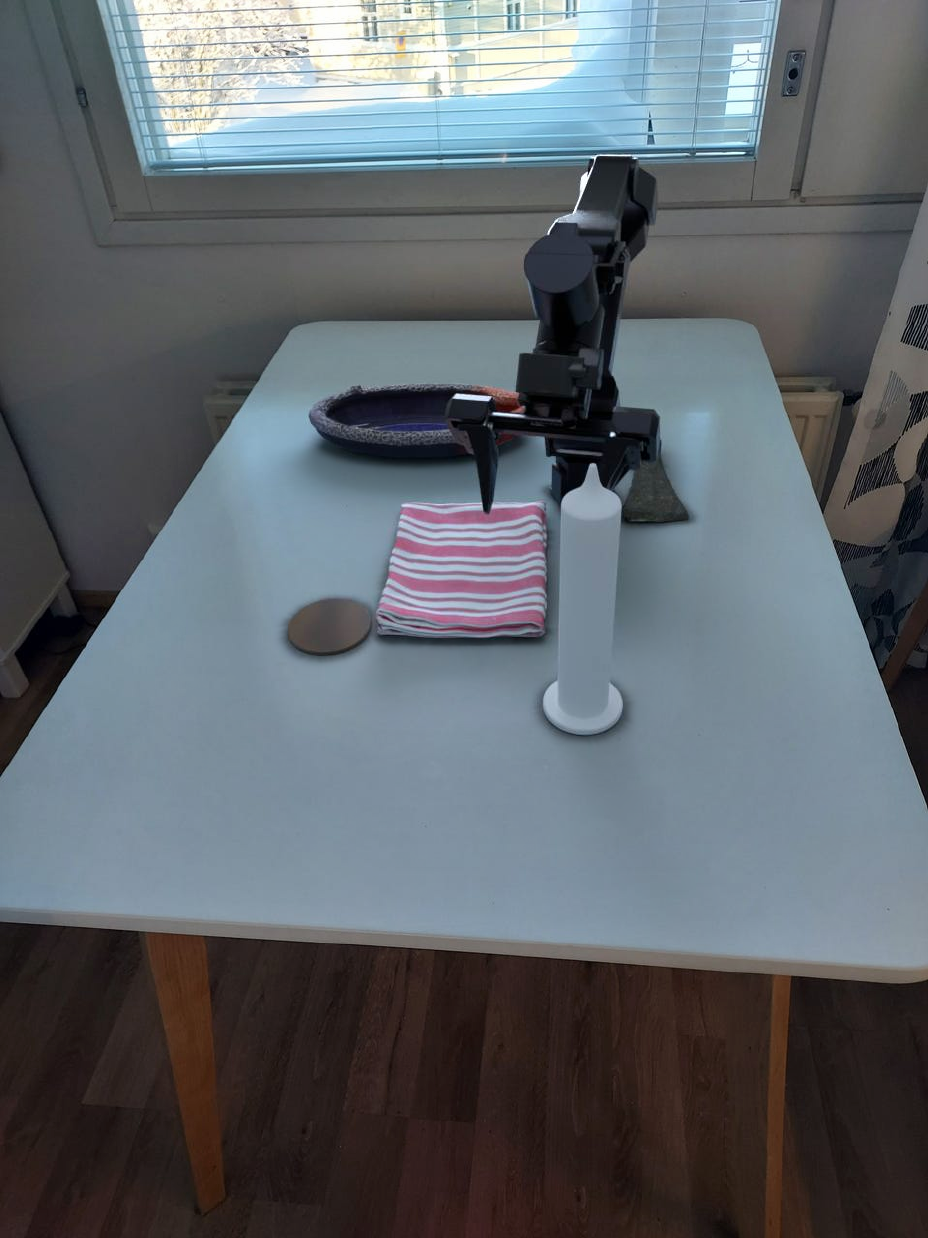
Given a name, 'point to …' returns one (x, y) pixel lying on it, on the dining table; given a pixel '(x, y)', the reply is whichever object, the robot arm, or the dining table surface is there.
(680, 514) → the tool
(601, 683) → the candle
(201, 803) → the dining table surface
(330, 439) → the dish
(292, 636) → the coaster
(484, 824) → the dining table surface
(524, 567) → the dish towel
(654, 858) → the dining table surface
